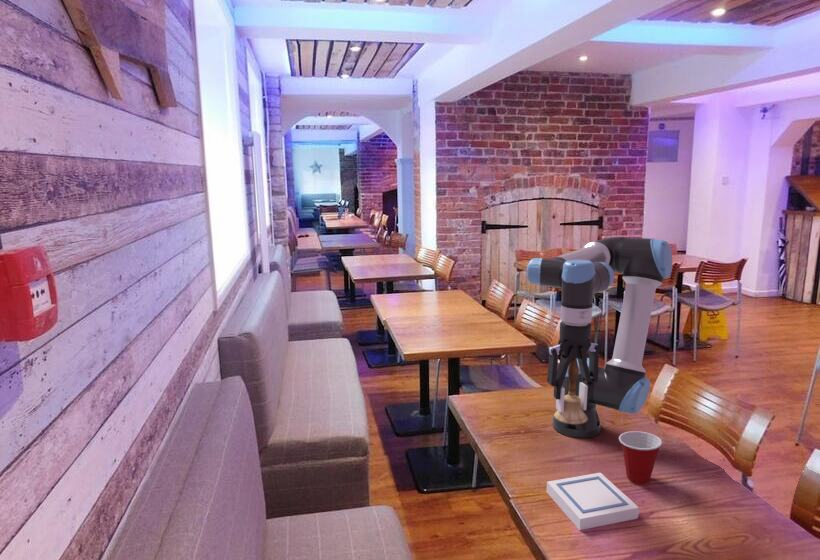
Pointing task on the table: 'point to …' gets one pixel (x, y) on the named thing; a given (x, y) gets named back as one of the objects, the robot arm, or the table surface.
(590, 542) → the table surface
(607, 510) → the display board
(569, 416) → the hand bell
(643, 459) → the plastic cup
